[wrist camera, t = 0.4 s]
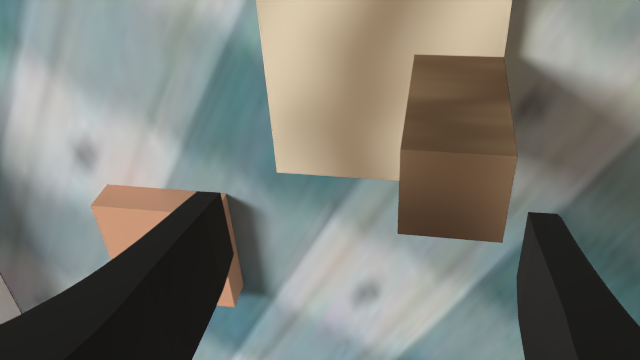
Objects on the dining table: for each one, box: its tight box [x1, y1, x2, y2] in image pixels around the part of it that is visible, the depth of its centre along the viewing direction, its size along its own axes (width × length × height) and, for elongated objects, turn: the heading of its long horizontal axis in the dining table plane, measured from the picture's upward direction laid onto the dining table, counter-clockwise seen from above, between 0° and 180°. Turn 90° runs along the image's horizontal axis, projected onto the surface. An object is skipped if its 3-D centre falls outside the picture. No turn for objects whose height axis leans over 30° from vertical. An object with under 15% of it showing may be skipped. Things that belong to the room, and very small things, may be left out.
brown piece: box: [256, 0, 518, 243], centre depth 19 cm, size 8×8×7 cm
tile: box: [91, 185, 244, 307], centre depth 29 cm, size 6×6×2 cm
